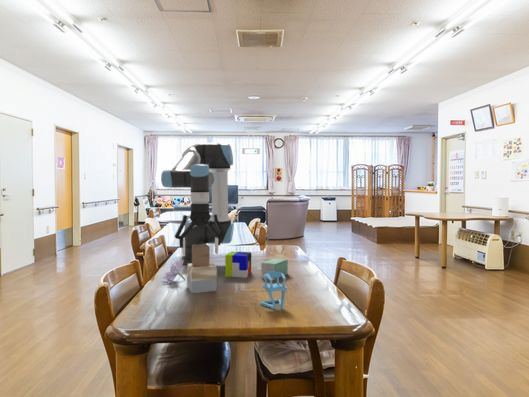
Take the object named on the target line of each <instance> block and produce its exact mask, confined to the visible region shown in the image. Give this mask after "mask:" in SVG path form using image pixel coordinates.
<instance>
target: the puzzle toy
mask: <svg viewBox="0 0 529 397" xmlns="http://www.w3.org/2000/svg"><path fill="white" fill-rule="evenodd" d="M224 256H225V257H224V258H225V260H224V261H225V263H224V264H225V265H224V266H225V268H224V269H225V271H224V273H225V274H224V275H225V277H230V278H248V276H250V274H251V273H252V252H251V251H230V252H228V253H226V254H225V255H224Z"/></svg>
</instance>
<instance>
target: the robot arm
mask: <svg viewBox="0 0 529 397" xmlns="http://www.w3.org/2000/svg"><path fill="white" fill-rule="evenodd" d="M232 150H233V149H232V146H231V144H229V143H224V142H200V143H197V144H194V145H191V146H190V147H187V149H185V150H184V151H183V152H182V155H181V158H180V159H179V161H178V162H177V163H176V164H175V165H174V167H173V168H172V169H167V170H166V169H165V170H163V171H162V172H161V175H160V180H161V185H162V187H164V188H169V189H170V188H171V189H172V188H175V189H176V188H179V189H180V188H182V189H184V188H187V189H189V188H190V203H191V204H190V214H189V215H188V214H187V215H186V214H183V215H182V220H181V222H180V224H179V226H178V229H177V231H176V232H175V235H174V238H175V239H177V240H178V241H179V248H180V249H181V256H182V260H183V259H184V260H183V264H182V265H185V266H187V264H190V263H192V245H203V244H207V245H208V244H209V245H210V244H214V253H215V254H217V255H219V246H221V245H224V244H226V245H227V244H230V243H231V242H232V241H233V236H234V230H235V223H234V222H233V221H232V218H231V217H230V216H229V192H228V190H229V189H228V187H229V186H228V185H229V184H228V181H229V180H228V175H229V174H228V172H229V171H230V170H231V166H233V165H234V155H233V151H232ZM210 187H211V214H210V204H209V202H210ZM181 262H182V261H181Z"/></svg>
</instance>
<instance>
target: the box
mask: <svg viewBox="0 0 529 397" xmlns="http://www.w3.org/2000/svg"><path fill="white" fill-rule="evenodd" d="M288 264H289V261H288V259H286V258H277V257H276V258H272V259H269V260H266V261H264V262H261V279H263V280H265V279H264V275H265V274H266V273H268V272H270V271H275V272H280V273H282V274H284V276H286V275H288ZM280 278H282V277H281V276H280V277H279V279H280ZM266 279H267V280H268V278H266ZM271 279H272V281H277V277H271Z"/></svg>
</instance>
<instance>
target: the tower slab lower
mask: <svg viewBox="0 0 529 397" xmlns="http://www.w3.org/2000/svg"><path fill="white" fill-rule="evenodd" d="M186 287H187V289H188V290H189V291H190V293H191V294H198V293H206V292H216V291H217V279H213V280H202V281H191V280H190V278H189V277H188V275H186Z"/></svg>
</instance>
